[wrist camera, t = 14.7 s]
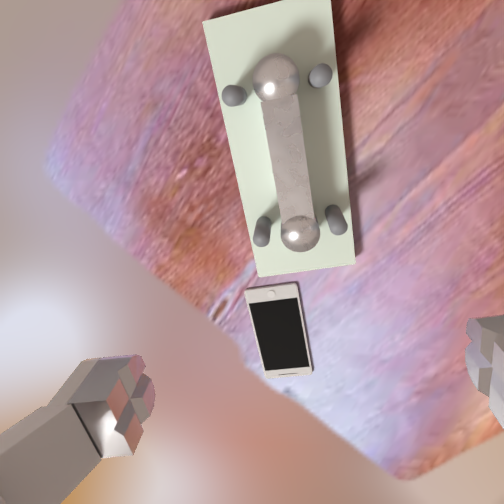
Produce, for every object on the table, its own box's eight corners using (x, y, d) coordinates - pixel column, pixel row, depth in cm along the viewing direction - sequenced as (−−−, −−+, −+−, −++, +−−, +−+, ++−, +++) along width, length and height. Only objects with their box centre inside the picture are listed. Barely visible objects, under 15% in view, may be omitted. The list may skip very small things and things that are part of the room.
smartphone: (296, 280, 46) (296, 284, 45) (312, 370, 52) (312, 375, 51) (244, 287, 47) (243, 291, 46) (265, 374, 53) (265, 379, 52)
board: (327, -8, 32) (336, -31, 27) (353, 258, 43) (364, 284, 37) (205, 24, 34) (189, 9, 28) (259, 271, 45) (255, 298, 39)
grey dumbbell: (294, 53, 33) (295, 47, 30) (319, 235, 41) (322, 249, 37) (252, 63, 34) (248, 59, 30) (284, 241, 41) (284, 255, 38)
